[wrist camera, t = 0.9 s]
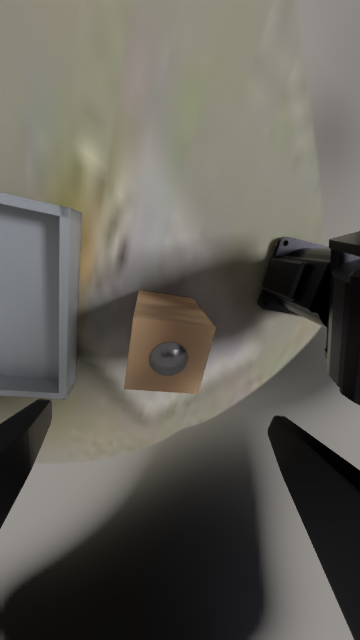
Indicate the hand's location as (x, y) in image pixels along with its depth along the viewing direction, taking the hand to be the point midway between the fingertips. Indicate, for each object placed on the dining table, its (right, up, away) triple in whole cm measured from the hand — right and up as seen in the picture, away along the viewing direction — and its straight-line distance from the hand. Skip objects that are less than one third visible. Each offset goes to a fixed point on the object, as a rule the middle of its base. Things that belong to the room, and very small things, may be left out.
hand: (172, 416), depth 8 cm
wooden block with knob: (-1, +4, +11) cm, 12 cm away
